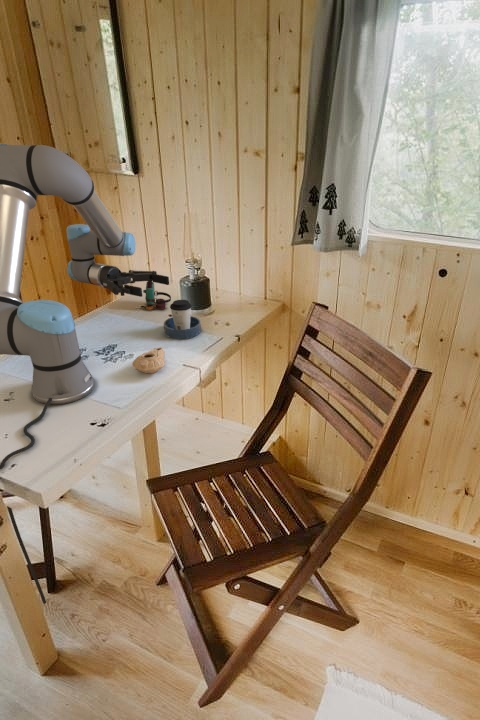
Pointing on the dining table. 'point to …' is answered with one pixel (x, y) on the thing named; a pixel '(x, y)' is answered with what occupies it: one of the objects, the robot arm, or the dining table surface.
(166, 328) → the bowl
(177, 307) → the coffee cup
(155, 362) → the pottery oil lamp
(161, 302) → the green and brown piece
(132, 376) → the dining table surface
